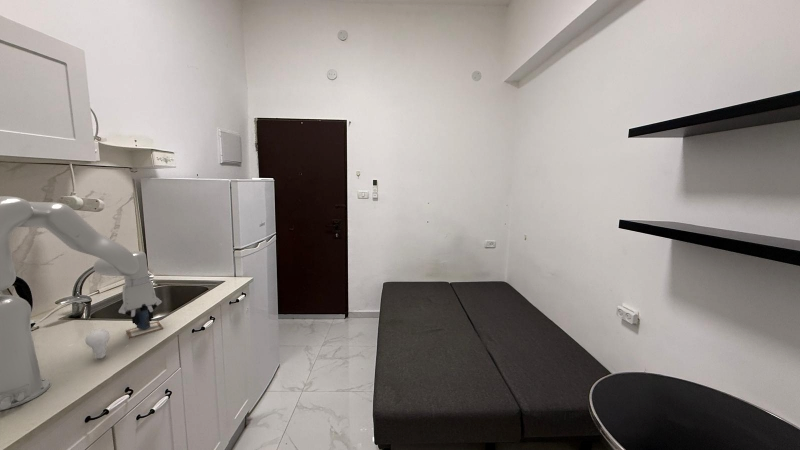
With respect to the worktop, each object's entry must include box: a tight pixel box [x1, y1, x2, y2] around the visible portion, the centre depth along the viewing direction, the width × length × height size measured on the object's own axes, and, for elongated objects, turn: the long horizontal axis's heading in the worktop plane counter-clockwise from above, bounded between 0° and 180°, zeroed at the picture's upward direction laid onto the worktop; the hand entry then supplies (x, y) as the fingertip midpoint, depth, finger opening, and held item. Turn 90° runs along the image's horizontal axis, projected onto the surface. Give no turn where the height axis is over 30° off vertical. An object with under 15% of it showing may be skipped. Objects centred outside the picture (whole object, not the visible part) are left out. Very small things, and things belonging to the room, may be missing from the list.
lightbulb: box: [84, 328, 110, 359], centre depth 105 cm, size 6×6×11 cm
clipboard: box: [125, 320, 164, 340], centre depth 126 cm, size 9×11×1 cm
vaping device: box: [135, 304, 151, 329], centre depth 124 cm, size 3×5×12 cm, turn 78°
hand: (143, 321), depth 124 cm, fingers closed on vaping device, 3 cm apart
